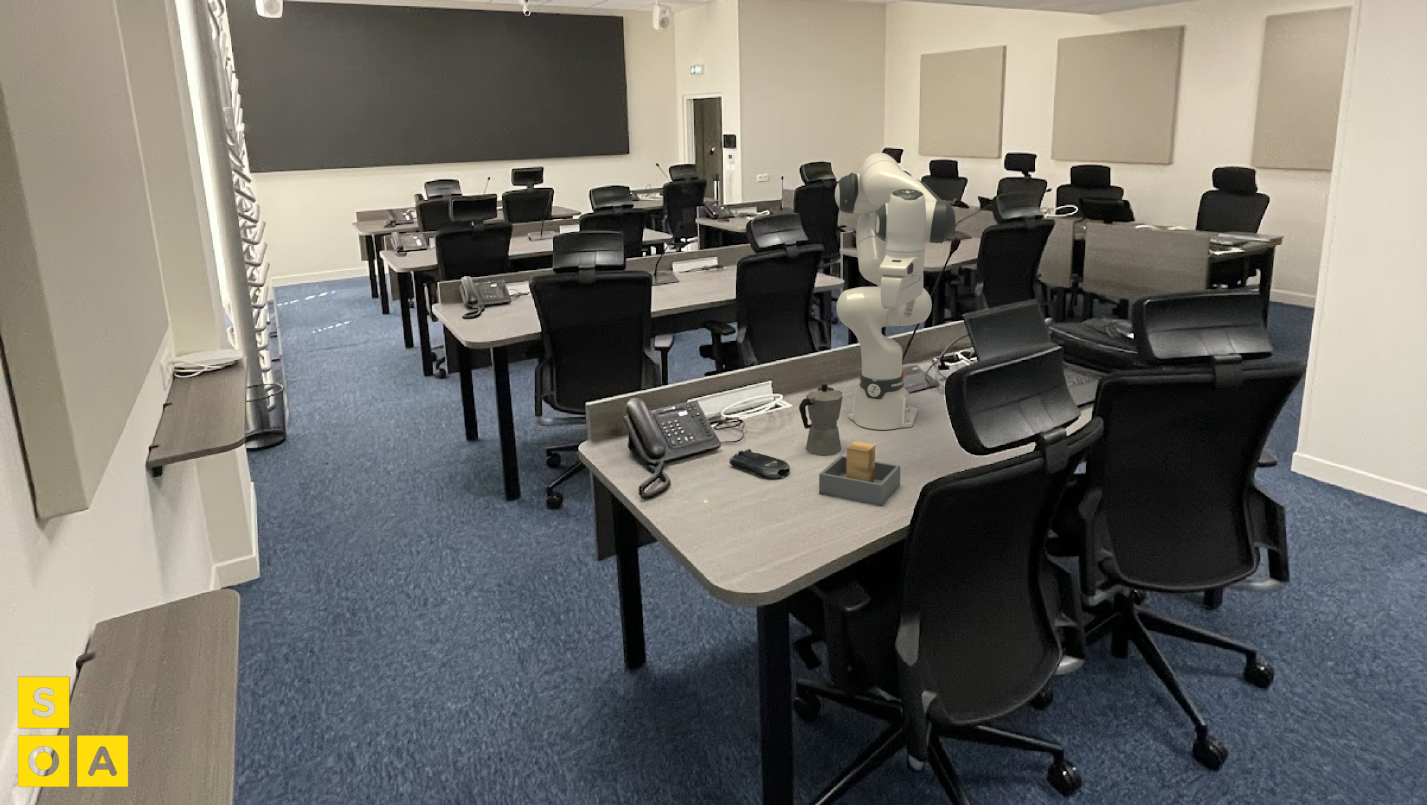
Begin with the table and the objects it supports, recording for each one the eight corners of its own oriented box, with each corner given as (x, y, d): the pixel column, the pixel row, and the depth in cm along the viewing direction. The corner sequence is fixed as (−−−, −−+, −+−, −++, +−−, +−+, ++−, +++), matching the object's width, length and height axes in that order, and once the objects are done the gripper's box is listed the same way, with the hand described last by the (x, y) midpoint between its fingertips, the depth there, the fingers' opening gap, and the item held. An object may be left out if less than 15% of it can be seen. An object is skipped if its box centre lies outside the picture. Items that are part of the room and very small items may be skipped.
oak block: (853, 480, 207) (855, 441, 204) (874, 484, 204) (875, 444, 201) (846, 488, 203) (847, 448, 200) (866, 492, 200) (867, 451, 197)
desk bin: (840, 474, 213) (840, 455, 211) (899, 485, 205) (900, 465, 204) (819, 493, 202) (819, 473, 200) (880, 506, 195) (881, 485, 193)
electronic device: (727, 475, 218) (774, 481, 208) (726, 453, 218) (773, 459, 208) (751, 468, 225) (797, 475, 215) (750, 447, 225) (797, 453, 215)
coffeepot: (827, 439, 236) (828, 375, 231) (853, 448, 229) (855, 382, 224) (786, 453, 227) (786, 387, 221) (812, 463, 220) (813, 395, 214)
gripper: (905, 255, 210) (903, 311, 215) (876, 268, 194) (874, 328, 198) (931, 256, 207) (928, 313, 212) (903, 269, 191) (901, 331, 195)
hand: (902, 321), depth 205 cm, fingers open, 8 cm apart
